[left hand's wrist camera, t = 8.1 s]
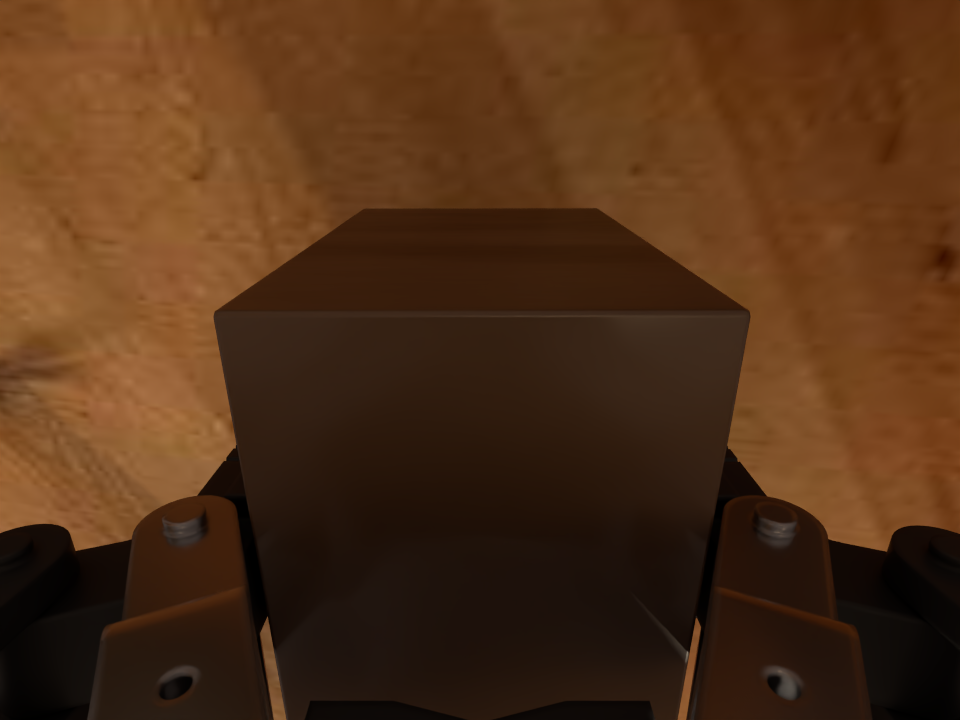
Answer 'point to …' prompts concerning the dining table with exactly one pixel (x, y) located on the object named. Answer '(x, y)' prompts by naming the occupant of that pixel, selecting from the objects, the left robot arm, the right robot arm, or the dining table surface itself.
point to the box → (481, 458)
